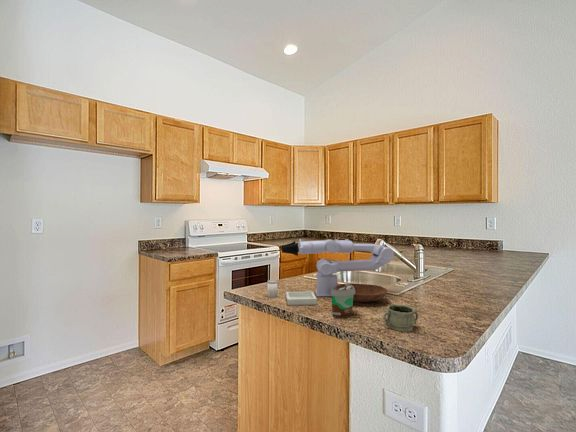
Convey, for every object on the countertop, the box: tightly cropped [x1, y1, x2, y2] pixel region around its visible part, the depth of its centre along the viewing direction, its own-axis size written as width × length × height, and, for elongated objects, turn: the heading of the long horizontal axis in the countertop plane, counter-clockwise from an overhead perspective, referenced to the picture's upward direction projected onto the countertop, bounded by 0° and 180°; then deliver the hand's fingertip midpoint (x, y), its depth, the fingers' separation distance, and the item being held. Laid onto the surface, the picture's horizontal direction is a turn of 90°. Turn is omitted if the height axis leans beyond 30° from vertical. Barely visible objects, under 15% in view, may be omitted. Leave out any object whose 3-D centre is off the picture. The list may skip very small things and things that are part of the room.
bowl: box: [335, 283, 388, 303], centre depth 131 cm, size 20×22×5 cm
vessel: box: [383, 303, 419, 332], centre depth 100 cm, size 12×9×6 cm
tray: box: [285, 290, 318, 307], centre depth 129 cm, size 12×12×2 cm
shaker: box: [266, 279, 278, 299], centre depth 136 cm, size 4×4×7 cm
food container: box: [330, 283, 355, 318], centre depth 112 cm, size 12×6×10 cm, turn 143°
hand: (281, 249), depth 138 cm, fingers open, 7 cm apart
